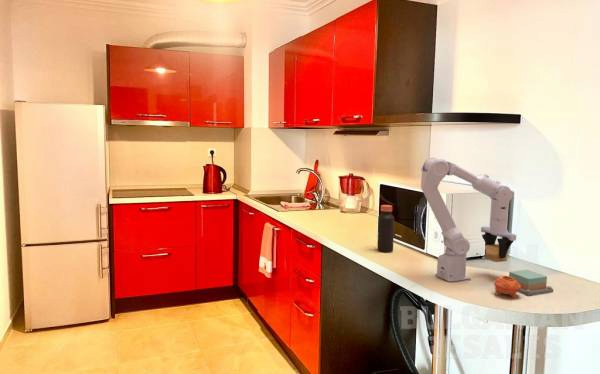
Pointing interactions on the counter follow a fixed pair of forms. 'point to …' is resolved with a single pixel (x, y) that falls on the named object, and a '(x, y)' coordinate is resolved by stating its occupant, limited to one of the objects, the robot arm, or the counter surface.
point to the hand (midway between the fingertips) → (496, 255)
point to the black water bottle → (385, 229)
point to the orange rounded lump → (507, 285)
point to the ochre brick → (494, 253)
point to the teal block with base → (531, 282)
